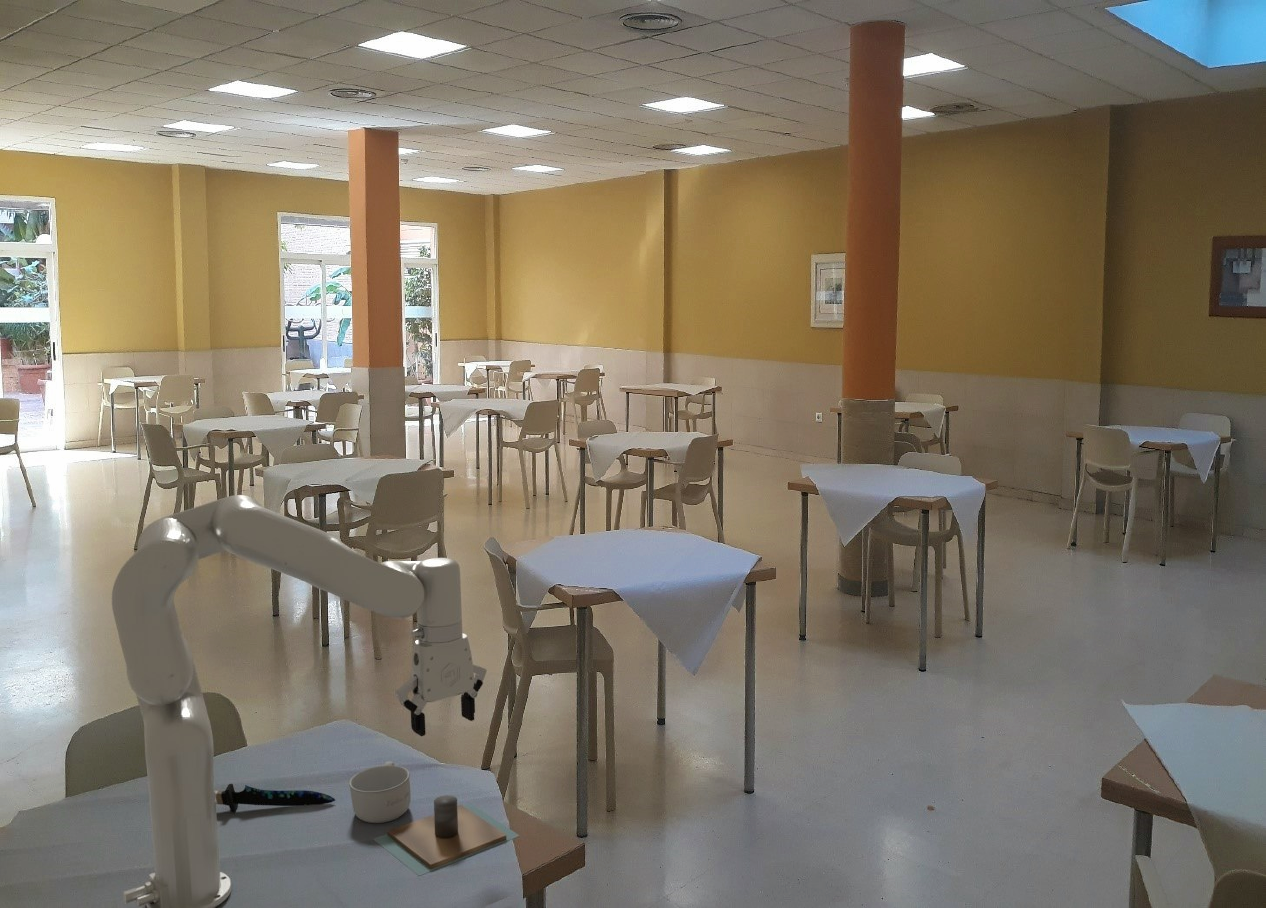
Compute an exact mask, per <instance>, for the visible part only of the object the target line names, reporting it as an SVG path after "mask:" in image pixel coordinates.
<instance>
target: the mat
mask: <svg viewBox="0 0 1266 908" xmlns="http://www.w3.org/2000/svg"><path fill="white" fill-rule="evenodd" d="M462 806H463V807H465V808H466V809H468V810H469V811H471V812H472V813H474V814H475V815H477V816H478V817H480V818H481V819H483V820H485V821H486V822H488V823H489V824H491V825H492V826H494V827H495V828H497V829H498V830H500V831H501V832H503V833H504V834H506V840H504V841H501V842H499V843H496V844H494V845H491V846H488V847H486V848H483V849H481V850H478V851H476V852H473V853H471V854H468V855H466V856H463V857H461V858H458V859H456V860H453V861H451V862H448V863H445V864H443V865H440V866H438V867H435V868H433V869H430V868H429V867H427V866H426V865H425V864H424V863H422V862H421V861H420V860H418V859H417V858H416V857H415V856H413V855H412V854H411V853H409V852H408V851H407V850H406V849H404V848H403V847H402V846H400V845H399V844H398V843H397V842H395V841H394V840H393V839H391V838H390V837H389V836H388V835H387V833H385V834H383V835H379V836H376V837H375V838H372V840H374V841H375V842H376V843H377V844H378V845H380V846H381V847H382V848H384V849H385V850H386V851H388V853H390V854H391V855H392V856H393V857H395V858H396V859H397V860H398V861H400V862H401V863H402V864H403V865H404V866H405V867H407V868H408V869H409V870H410V871H412V873H415V874H416V875H417V876H418V877H420V876H423V875H425V874H429V873H430V872H433V871H435V870H438V869H440V868H443V867H446V866H448V865H450V864H453V863H456V862H458V861H461V860H463V859H465V858H468V857H471V856H473V855H477V854H479V853H481V852H483V851H486V850H488V849H491V848H493V847H496V846H498V845H502V844H503V843H505V842H508V841H511V840H514V839H516V838H518V837H520V836H521V835H520V834H518V833H517V832H515V831H514V830H512V829H510V828H509V827H507V826H506V825H505V824H503V823H501V822H500V821H499V820H497V819H495V818H493V817H492V816H490V815H489V814H488V813H486V812H484V811H483V810H482V809H480V808H479V807H477V806H476V805H474V804H472V803H469V804H466V805H462Z"/></svg>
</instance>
